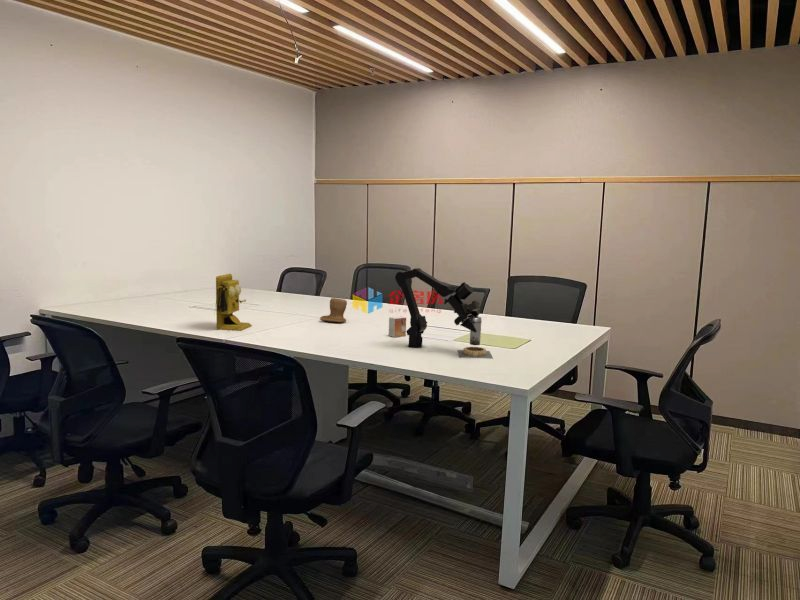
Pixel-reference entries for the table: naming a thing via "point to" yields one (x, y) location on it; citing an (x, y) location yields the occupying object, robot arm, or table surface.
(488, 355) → the mat
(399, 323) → the small box
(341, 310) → the brown suede boot shape
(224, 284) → the vintage telephone
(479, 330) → the grey tall cylinder
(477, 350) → the ring collar
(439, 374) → the table surface
